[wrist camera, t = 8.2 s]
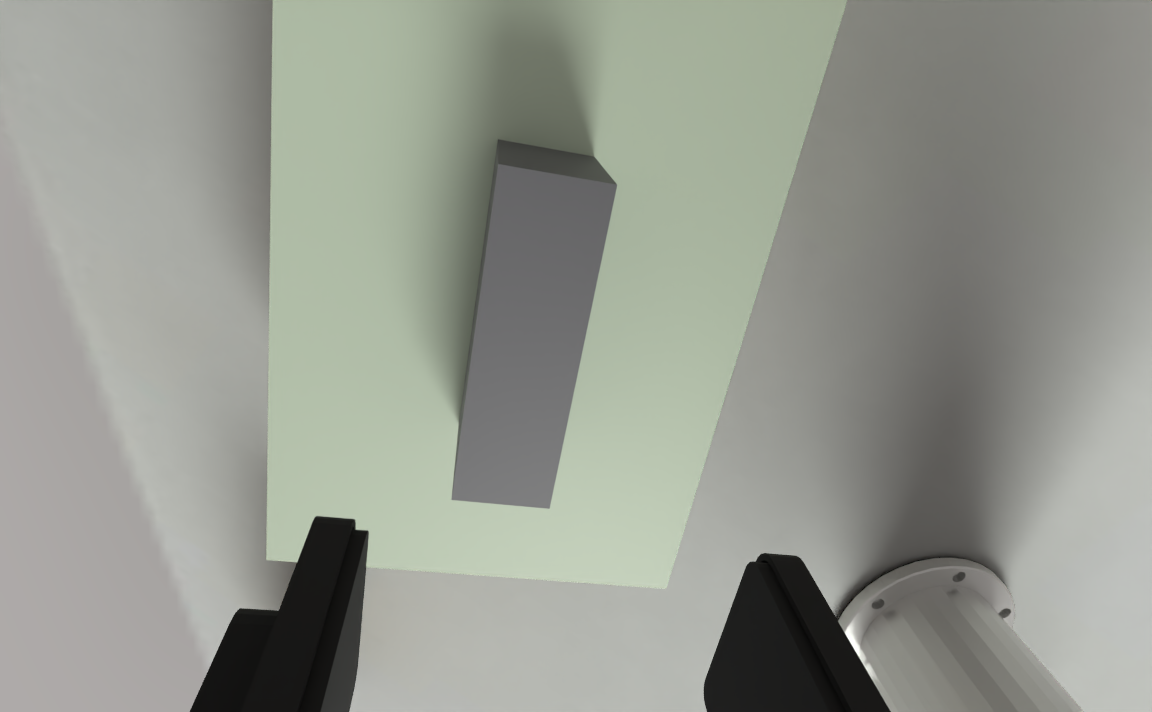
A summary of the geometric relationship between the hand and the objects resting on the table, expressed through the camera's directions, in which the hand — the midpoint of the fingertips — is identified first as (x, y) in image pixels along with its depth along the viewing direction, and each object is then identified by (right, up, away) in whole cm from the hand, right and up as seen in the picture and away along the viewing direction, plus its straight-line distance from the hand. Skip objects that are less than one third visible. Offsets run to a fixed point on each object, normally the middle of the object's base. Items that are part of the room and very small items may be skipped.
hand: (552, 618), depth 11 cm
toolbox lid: (-2, +6, +14) cm, 16 cm away
